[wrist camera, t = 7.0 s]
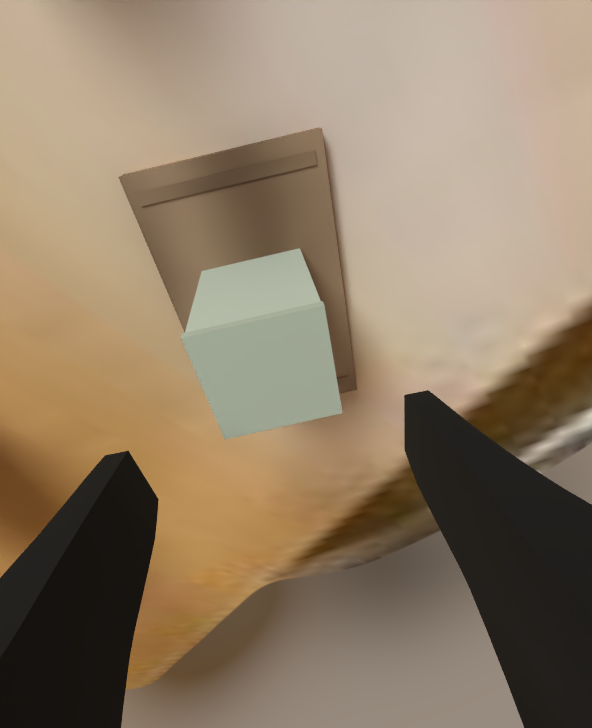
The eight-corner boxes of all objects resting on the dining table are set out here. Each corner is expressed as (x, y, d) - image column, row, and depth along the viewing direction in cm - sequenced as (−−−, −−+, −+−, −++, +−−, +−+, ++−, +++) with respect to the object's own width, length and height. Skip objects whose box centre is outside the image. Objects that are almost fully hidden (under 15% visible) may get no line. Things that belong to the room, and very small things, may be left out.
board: (223, 402, 23) (221, 420, 22) (128, 171, 16) (117, 177, 14) (350, 374, 23) (357, 390, 22) (315, 127, 16) (322, 128, 14)
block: (230, 354, 19) (224, 439, 14) (200, 270, 17) (180, 338, 12) (317, 334, 19) (342, 413, 14) (300, 247, 17) (324, 305, 12)
